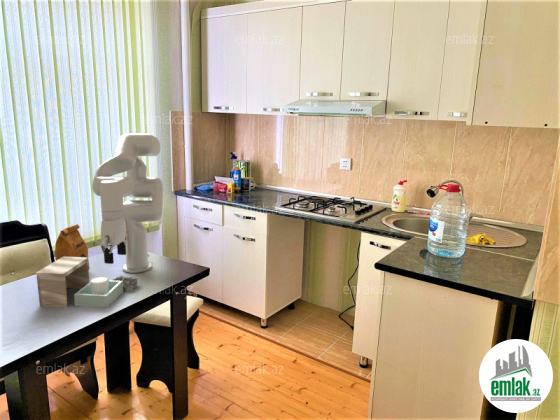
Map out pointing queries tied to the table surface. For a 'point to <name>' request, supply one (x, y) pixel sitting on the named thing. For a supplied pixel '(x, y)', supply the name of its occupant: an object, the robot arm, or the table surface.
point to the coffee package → (70, 244)
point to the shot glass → (99, 285)
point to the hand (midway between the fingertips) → (115, 258)
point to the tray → (95, 300)
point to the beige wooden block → (61, 280)
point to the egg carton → (128, 282)
